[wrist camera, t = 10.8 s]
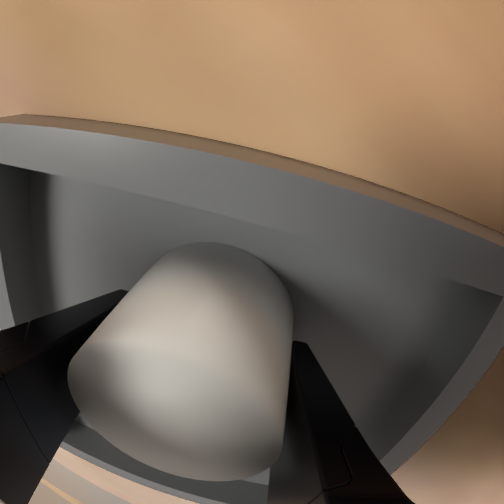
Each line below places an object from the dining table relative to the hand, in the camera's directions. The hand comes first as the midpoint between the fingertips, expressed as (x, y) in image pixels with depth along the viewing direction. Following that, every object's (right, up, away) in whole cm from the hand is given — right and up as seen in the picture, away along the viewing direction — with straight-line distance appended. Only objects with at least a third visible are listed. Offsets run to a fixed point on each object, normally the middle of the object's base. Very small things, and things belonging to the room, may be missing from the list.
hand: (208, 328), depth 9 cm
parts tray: (-1, -3, +3) cm, 4 cm away
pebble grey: (0, 0, +1) cm, 1 cm away
